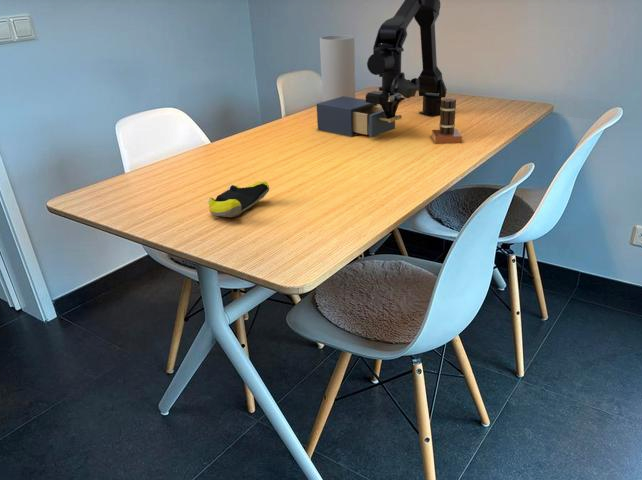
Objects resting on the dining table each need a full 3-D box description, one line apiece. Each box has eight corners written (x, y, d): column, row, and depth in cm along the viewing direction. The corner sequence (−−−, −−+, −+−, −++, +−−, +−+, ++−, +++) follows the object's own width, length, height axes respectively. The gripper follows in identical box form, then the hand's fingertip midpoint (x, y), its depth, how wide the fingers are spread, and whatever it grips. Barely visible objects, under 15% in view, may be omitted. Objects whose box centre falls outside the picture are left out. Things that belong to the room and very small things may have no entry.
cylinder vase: (362, 107, 213) (361, 36, 200) (339, 113, 205) (337, 40, 193) (338, 102, 220) (336, 34, 208) (316, 108, 212) (312, 38, 200)
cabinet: (376, 127, 186) (377, 101, 182) (351, 136, 177) (350, 109, 173) (343, 121, 195) (343, 96, 190) (317, 129, 186) (316, 103, 181)
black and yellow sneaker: (274, 202, 131) (239, 196, 135) (272, 180, 128) (236, 175, 132) (237, 227, 119) (200, 220, 123) (234, 203, 116) (196, 196, 120)
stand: (431, 136, 176) (431, 129, 175) (456, 135, 176) (457, 129, 175) (435, 143, 169) (435, 136, 168) (461, 142, 169) (462, 136, 168)
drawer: (407, 130, 178) (407, 109, 175) (384, 140, 170) (384, 117, 167) (362, 122, 189) (362, 102, 185) (339, 130, 181) (338, 109, 177)
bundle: (435, 132, 172) (437, 99, 167) (446, 130, 174) (448, 97, 169) (446, 135, 168) (448, 102, 164) (457, 133, 171) (459, 100, 166)
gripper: (395, 76, 155) (394, 132, 163) (431, 67, 167) (428, 119, 175) (364, 73, 161) (364, 126, 169) (401, 64, 174) (399, 114, 181)
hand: (390, 121), depth 174 cm, fingers closed, pressing on drawer
